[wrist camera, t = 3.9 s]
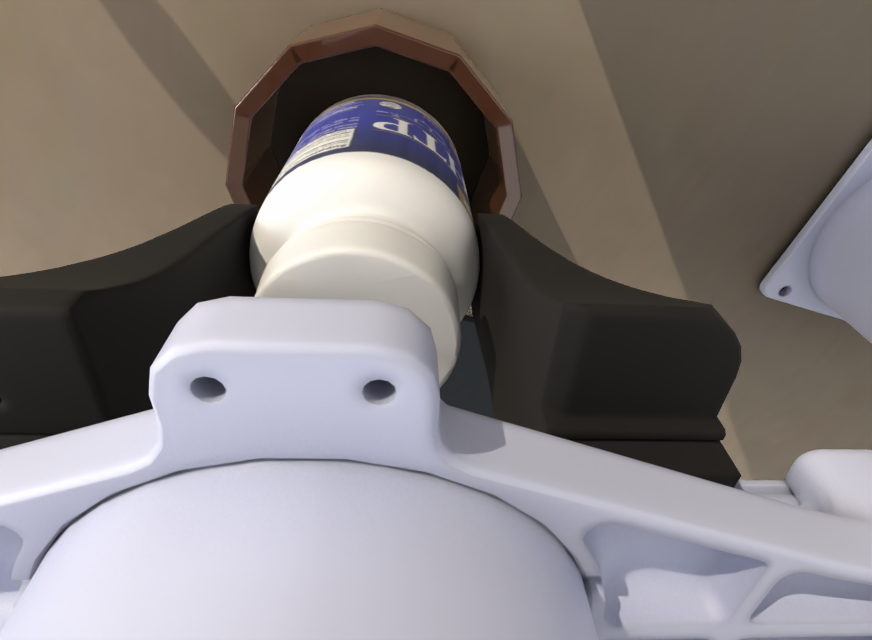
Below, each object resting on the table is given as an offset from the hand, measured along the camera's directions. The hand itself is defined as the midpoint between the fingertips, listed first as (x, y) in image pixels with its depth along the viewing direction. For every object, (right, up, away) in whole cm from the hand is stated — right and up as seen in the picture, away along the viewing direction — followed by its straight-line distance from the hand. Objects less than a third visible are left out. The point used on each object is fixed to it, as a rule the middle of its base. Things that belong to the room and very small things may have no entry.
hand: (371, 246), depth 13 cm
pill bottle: (0, +3, +4) cm, 5 cm away
